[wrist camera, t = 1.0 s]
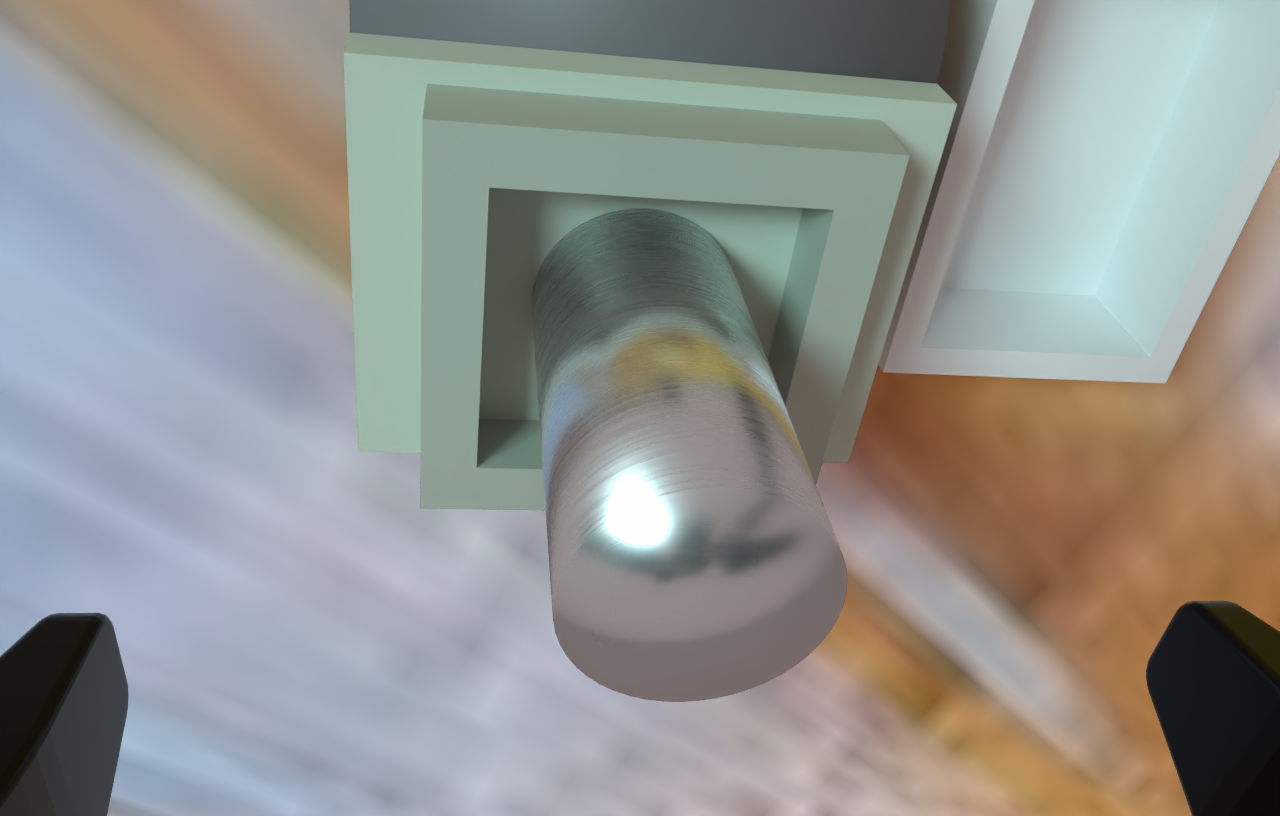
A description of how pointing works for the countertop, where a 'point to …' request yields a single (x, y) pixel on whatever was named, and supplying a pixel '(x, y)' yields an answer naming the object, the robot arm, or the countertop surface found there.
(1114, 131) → the tray
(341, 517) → the countertop surface
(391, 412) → the grey-green hollow stepped block
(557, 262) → the pin
